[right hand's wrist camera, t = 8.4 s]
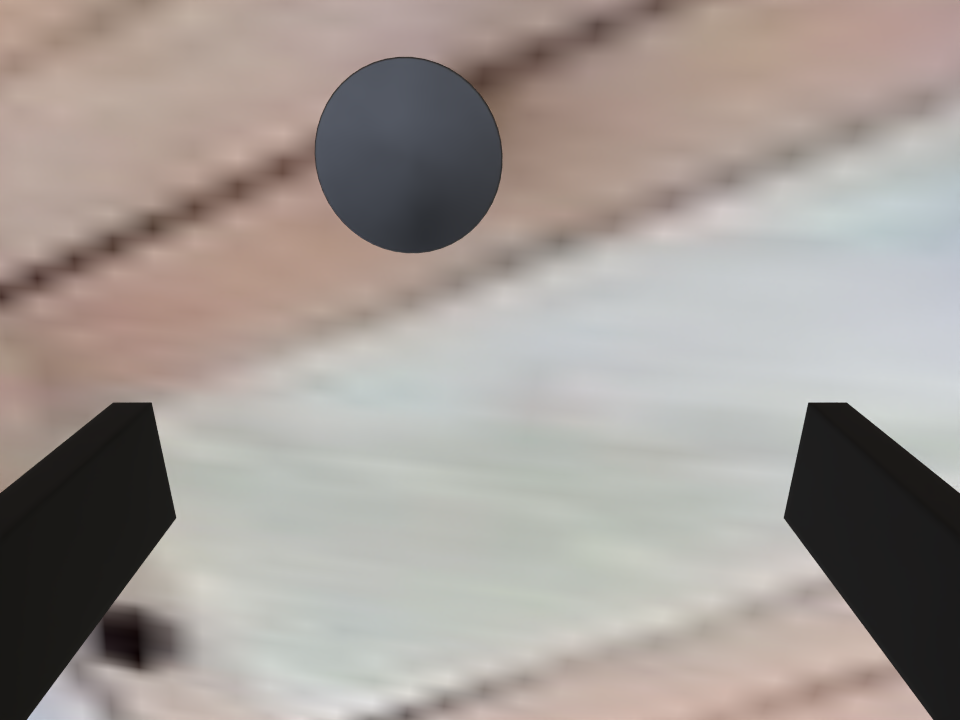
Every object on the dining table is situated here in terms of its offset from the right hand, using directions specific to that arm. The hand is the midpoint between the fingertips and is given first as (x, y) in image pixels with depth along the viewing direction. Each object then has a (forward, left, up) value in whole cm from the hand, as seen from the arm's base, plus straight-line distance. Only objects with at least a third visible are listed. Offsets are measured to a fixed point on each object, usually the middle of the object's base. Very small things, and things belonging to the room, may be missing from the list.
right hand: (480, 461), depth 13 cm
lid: (-2, +5, -9) cm, 10 cm away
